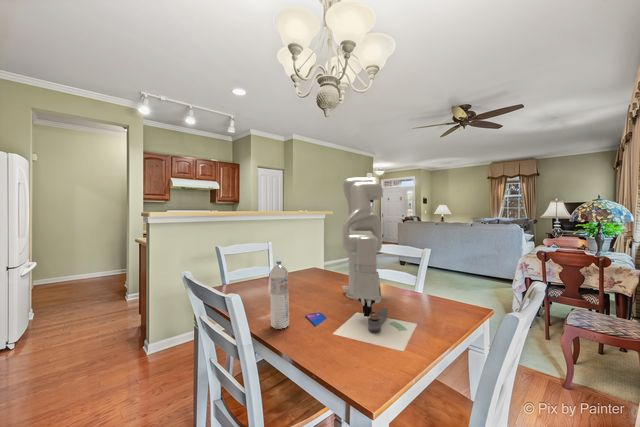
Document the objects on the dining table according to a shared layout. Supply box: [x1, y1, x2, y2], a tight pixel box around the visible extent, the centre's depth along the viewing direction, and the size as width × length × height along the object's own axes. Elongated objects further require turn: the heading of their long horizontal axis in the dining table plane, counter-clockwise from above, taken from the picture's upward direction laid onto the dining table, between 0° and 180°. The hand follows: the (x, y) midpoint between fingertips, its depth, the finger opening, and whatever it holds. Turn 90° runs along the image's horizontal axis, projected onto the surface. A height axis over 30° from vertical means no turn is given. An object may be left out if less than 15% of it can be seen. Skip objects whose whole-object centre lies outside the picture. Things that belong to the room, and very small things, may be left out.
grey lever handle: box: [368, 307, 388, 333], centre depth 99 cm, size 15×4×6 cm, turn 150°
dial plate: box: [332, 312, 418, 352], centre depth 96 cm, size 24×22×2 cm
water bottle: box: [269, 260, 290, 330], centre depth 103 cm, size 7×7×25 cm
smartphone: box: [304, 312, 327, 328], centre depth 107 cm, size 7×1×15 cm
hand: (367, 315), depth 104 cm, fingers closed
